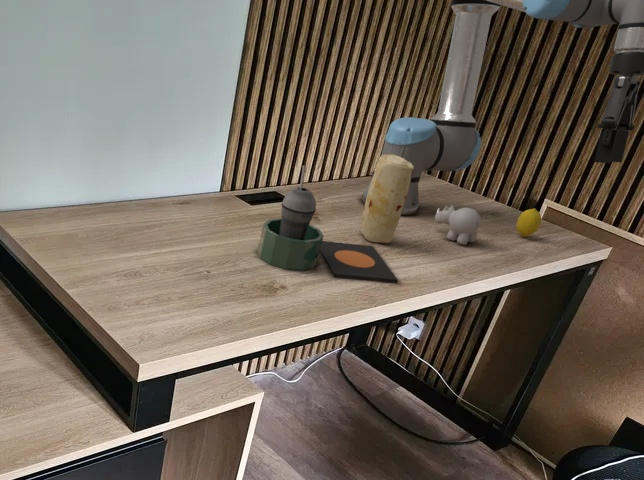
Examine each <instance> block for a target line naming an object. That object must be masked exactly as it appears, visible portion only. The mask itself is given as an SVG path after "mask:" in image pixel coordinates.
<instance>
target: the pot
mask: <svg viewBox="0 0 644 480" xmlns="http://www.w3.org/2000/svg"><path fill="white" fill-rule="evenodd" d="M281 218H282V217H279V218H270V219H268V220H266V221H265V222H264V223H263V224H262V229H261V233H260V239H259V245H258V248H257V254H258V256H259V258H260V259H261V260H263V261H265V262H266V263H268V264H269V265H272V266H275V267H278V268H281V269H284V270H293V271H305V270H309V269H313V268H314V267H315V266H316V265H317V263H318V259H319V256H320V248H321V244H322V241H324V237H325V236H324V233H323V232H322V230H321V229H320V228H318V227H316V226H314V225H312V224H311V223H310V224H309V227H308V230H307V233H306V236H305V239H304V240H296V239H290V238H287V237H283V236H280V235H279V233H280V225H281Z"/></svg>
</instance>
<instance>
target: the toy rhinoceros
mask: <svg viewBox="0 0 644 480" xmlns="http://www.w3.org/2000/svg"><path fill="white" fill-rule="evenodd" d="M436 210H437V211H436V214H435V215H434V221H435V222H436V223H437V224H445V225H449V231H448V232H447V234H446V239H447V240H448V241H453V242H455V241H456V244H458V245H463V246H466V245H467V244H468V243H475V242H476V241H477V236H478V235H477V232H478V230H479V228H480V226H481V222H482V221H481V216H480V214H479V212H477V211H476V209H473V208H471V207H461V208H459V209H457V210H456V209H455V204H452V205H451V206H450V207H448V205H444V209H442V210H441V209H440V207H438V209H436Z"/></svg>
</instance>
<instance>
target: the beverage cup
mask: <svg viewBox="0 0 644 480" xmlns="http://www.w3.org/2000/svg"><path fill="white" fill-rule="evenodd" d="M305 172H306V165H302V169H301V176H300V183H299V187H294V188H292V189H291V190H289V191H288V192H287V193H286V194H285V196H284V198H283V199H282V203H280V204H281V217H280V218H281V225H280V233H279V235H280V236H283V237H287V238H290V239H296V240H304V239H305V236H306V233H307V230H308V227H309V224H311V222H312V219H313V217H314V215H315V213H316V211H317V200H316V198H315V195H314V194H313V192H312V191H311V190H309V189H308V188H306V187H303V185H304V178H305Z"/></svg>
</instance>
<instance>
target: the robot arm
mask: <svg viewBox="0 0 644 480" xmlns="http://www.w3.org/2000/svg"><path fill="white" fill-rule="evenodd" d="M501 6H502V7H503V6H504V7H507V8H509V9H513V10H517V11H520V12H523V13H526V15H528V17H531V18H535V19H537V20H543V21H556V22H564V23H570V24H571V25H572V26H573V27H575V28H587V29H591V28H595V27H602V26H609V25H617V24H619V25H618V30H617V34H616V37H615V41H614V46H613V51H614V52H615V53H614V54H613V55H612V56H611V59H610V60H611V61H610V65H609V69H608V73H609V74H610V75H613V76H615V77H614V79H613V85H612V88H611V92H610V95H609V97H608V101H607V103H606V107H605V110H604V113H603V116H602V119H601V121H600V122H598V125H597V128H598V129H601V131H600V136H599V140H598V144H597V149H596V153H595V157H594V161H593V162H594V163H600V164H601V163H602V164H610V163H622V162H623V159H624V155H625V150H626V148H627V147H626V146H627V143H628V139H629V135H630V132H634V131H635V125H634V117H635V112H636V105H637V99H638V95H639V90H640V86H641V81H640V80H638V77H639V76H644V0H452V1H451V9H452V11H453V13H454V14H455V18H454V24H453V29H452V35H451V41H450V46H449V51H448V56H447V61H446V67H445V73H444V76H443V77H444V78H443V83H442V88H441V93H440V99H439V104H438V110H437V112H436V113H435V114H434V115H433V116H432V117H430V119H427V118H424V117H414V116H413V117H410V116H409V117H399V118H397V119H395V120H393V121H392V122H391V123H390V125H389V128H388V129H387V130H388V131H387V133H386V135H385V137H384V142H383V143H384V144H383V147H382V150H381V155H380V157H381V156H382V155H396V156H399V157H401V158H403V159H405V160H406V161H408V162H410V163H411V164H412V165H413V167H414V171H413V174H412V177H411V181H410V185H409V189H408V193H407V196H406V200H405V203H404V206H403V209H402V212H401V216H411V215H414V214H416V213H417V211H418V208H419V184H420V181H421V180H420V179H421V176H422V173H423V171H434V172H435V171H436V172H437V171H439V172H448V173H450V172H451V173H452V172H460V171H463V170H465V169H468V167H469V166H471V165H472V164H473V163H474V162H475V160H476V159H477V158H478V156H479V153H480V151H481V147H482V138H481V134H480V132H479V131H478V130H477V129H476V124H477V120H476V119H475V118H474V116H473V109H474V104H475V99H476V95H477V89H478V85H479V79H480V75H481V69H482V65H483V60H484V55H485V50H486V45H487V40H488V36H489V31H490V26H491V25H490V24H491V20H492V16H493V15H494V14H495V13H496V12H497V11H499V10H500V8H501ZM374 172H375V170H373V171H372V172H371V175H372V176H373V175H374ZM370 185H371V181H369V184H367V187H366V188H365V190H364V191H363V192H362V197H361V202H362V203H363V204H364V205H365V202H366V198H367V195H368V191H369V188H370Z"/></svg>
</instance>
